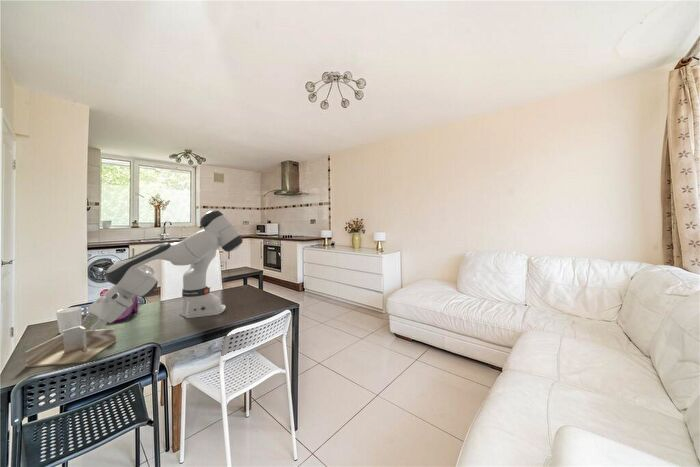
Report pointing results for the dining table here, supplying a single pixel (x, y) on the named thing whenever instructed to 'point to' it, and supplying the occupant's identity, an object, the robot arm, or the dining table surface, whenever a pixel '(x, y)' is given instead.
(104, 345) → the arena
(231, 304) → the dining table surface
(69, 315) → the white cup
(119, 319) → the mounting bracket
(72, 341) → the angle bracket
